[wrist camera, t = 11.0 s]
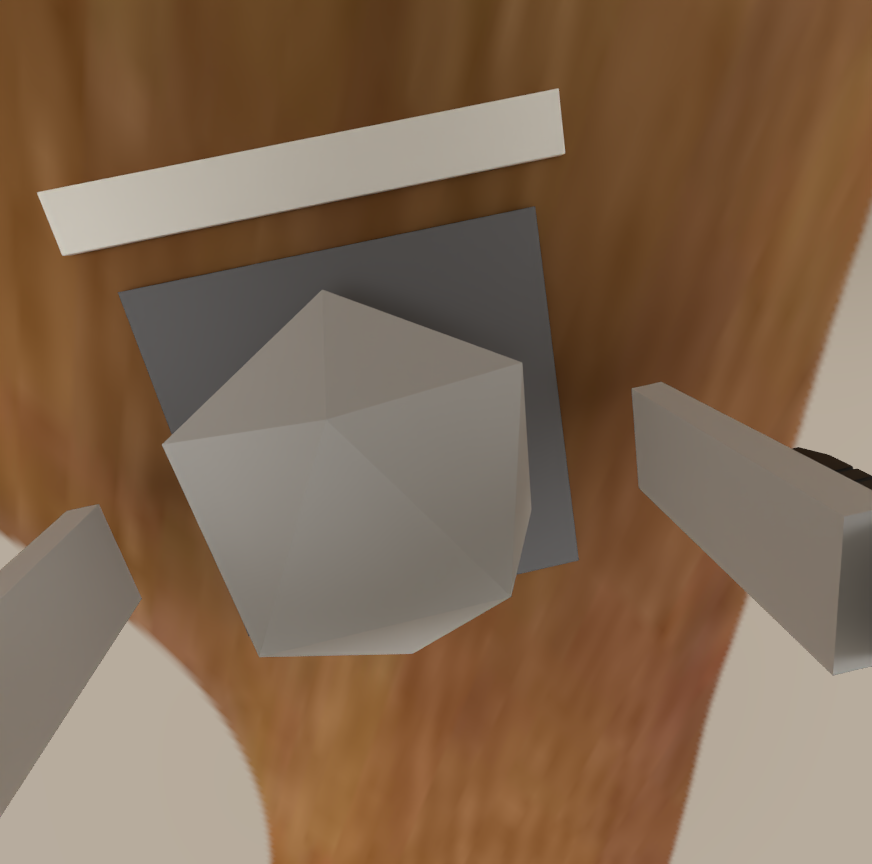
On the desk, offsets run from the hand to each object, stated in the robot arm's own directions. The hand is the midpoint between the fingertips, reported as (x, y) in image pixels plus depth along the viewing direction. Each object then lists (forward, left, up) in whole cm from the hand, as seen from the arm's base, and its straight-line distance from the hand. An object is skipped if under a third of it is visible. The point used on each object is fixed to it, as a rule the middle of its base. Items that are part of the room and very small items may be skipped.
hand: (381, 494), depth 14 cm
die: (0, 0, -4) cm, 5 cm away
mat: (0, -1, -5) cm, 5 cm away
